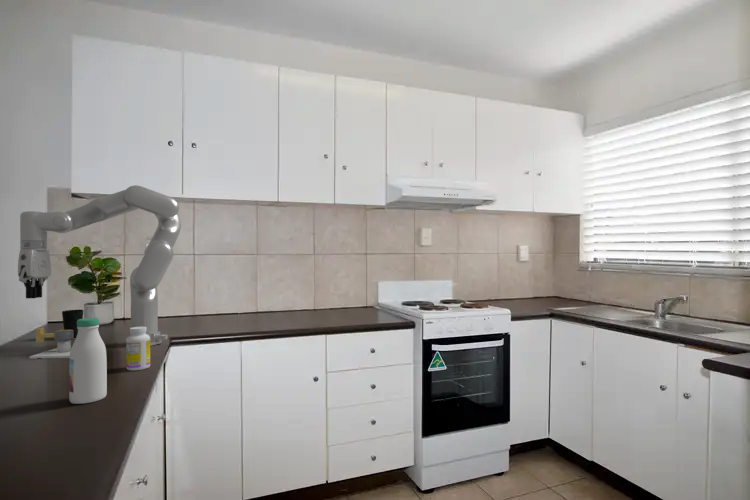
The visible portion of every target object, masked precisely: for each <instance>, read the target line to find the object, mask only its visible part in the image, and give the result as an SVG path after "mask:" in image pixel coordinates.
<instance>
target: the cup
mask: <svg viewBox="0 0 750 500" xmlns="http://www.w3.org/2000/svg"><path fill="white" fill-rule="evenodd" d="M61 316H62V324H63V330H73V338H76V337H77V334H78V329H77V320H79V319H84V309H69V310H62V311H61Z"/></svg>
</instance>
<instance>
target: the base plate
mask: <svg viewBox="0 0 750 500" xmlns="http://www.w3.org/2000/svg"><path fill="white" fill-rule="evenodd" d="M56 343H57V345H56V346H57V347H55V348H53V349H49V350H45V351H42V352H40V353H36V354H33V355H30V356H29V359H31V360H32V359H37V358H42V359H70V351H71V348H72V344H71V343H72V339H70V340H62V341H56ZM37 360H38V359H37Z"/></svg>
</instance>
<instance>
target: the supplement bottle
mask: <svg viewBox="0 0 750 500" xmlns="http://www.w3.org/2000/svg"><path fill="white" fill-rule="evenodd" d="M146 331H147V329H146V327H133V328H131V327H130V328H129V333H130V335H129V336H128V337H126V339H125V349H126V351H125V352H126V355H125V356H126V357H125V358H126V359H125V360H126V365H125V366H126V369H127V370H128V371H142V370H146V369H148V368H150V367H151V346H150V336H149V335H147V334H146Z"/></svg>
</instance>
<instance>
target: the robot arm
mask: <svg viewBox="0 0 750 500" xmlns="http://www.w3.org/2000/svg"><path fill="white" fill-rule="evenodd" d="M139 209H140V210H143V211H145V212H149V213H151V214H154V216H155V217H156V218H157V220H158V224H157V228H156V230H155V232H154V234H153V236H152V237H151V239H150V241H149V243H148V244H147V246H146V247H145V249H144V253H143V254H144V255H143V257H142V259H141V260H140V263H139V265H138V266H136V267H135V268H134V269H133V270H132V272H131V274H130V276H129V289H130V328H133V327H146V329H147V331H146V334H147V335H149V336H150V347H152V346H156V345H160V344H162V342H163V340H168V336H169V335H168V334H167V333H165V334H164V333H163V334H161V331H160V330H159V328H158V323H159V321H158V313H159V312H158V310H159V309H158V303H159V301H158V299H159V298H158V286H159V284H160V282H161V283H162V280H163V278H164V276H165V274H166V272H167V270H168V268H169V267H170V264H171V262H172V261H173V257H174V249H173V247H174V245H175V244H176V241H177V239H178V237H179V235H180V232H181V228H182V224H181V223H182V222H181V218H180V214H179V210H180V206H179V203H178V202H177V200H175V199H174V198H173V197H171V196H168V195H166V194H164V193H160V192H157V191H155V190H152V189H149V188H146V187H144V186H141V185H137V184H136V185H131V186H129V187H127V188H126V189H123V190H120V191H117V192H114V193H111V194H108V195H104V196H101V197H97V198H95V199H93V200H91V201H90V202H88V203H86V204H84V205H82V206H79V207H76V208H73V209H70V210H67V211H49V212H46V211H45V212H43V211H34V210H32V211H30V210H28V211H22V212H21V213H20V215H19V221H20V223H19V231H20V232H19V235H20V237H19V239H20V240H19V241H20V242H19V243H20V244H19V245H20V247H19V253H18V260H17V275H18V281H19V282H21V283H23V285H24V287H25V299H36V298H42V297H43V287H44V283H45V281H47V280H49V277H51V274H52V265H51V257H50V252H49V250H48V232H55V233H56V234H66V233H69V232H72V231H76V230H79V229H81V228H84V227H87V226H89V225H90V226H91V225H92V224H96V223H101V222H103V221H106V220H110V219H112V218H115V217H118V216H120V215H123V214H126V213H130V212H133V211H135V210H139Z"/></svg>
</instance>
